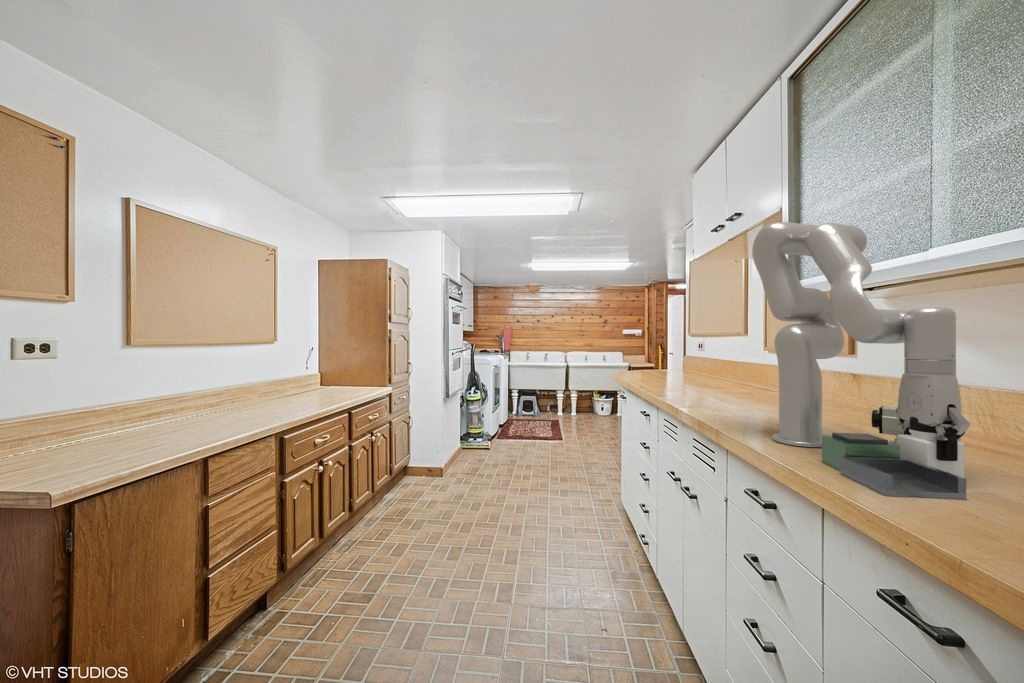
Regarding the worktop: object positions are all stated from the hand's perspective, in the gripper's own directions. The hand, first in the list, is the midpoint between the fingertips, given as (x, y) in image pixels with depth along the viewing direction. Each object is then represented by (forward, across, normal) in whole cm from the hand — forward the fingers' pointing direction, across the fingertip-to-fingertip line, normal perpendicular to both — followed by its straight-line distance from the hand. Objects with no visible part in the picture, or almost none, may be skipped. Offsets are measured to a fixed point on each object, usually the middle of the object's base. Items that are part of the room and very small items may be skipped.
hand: (929, 454), depth 86 cm
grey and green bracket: (+4, +5, -12) cm, 13 cm away
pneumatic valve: (+4, -15, +6) cm, 17 cm away
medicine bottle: (+4, 0, 0) cm, 4 cm away
